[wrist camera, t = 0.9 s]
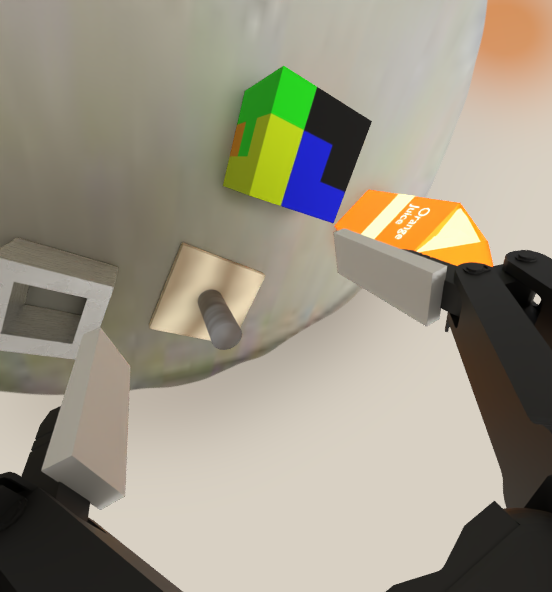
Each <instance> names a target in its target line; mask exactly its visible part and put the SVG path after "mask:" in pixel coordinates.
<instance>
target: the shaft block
mask: <svg viewBox="0 0 552 592" xmlns="http://www.w3.org/2000/svg"><path fill="white" fill-rule="evenodd" d="M264 278H265V275H264V274H263V273H262V272H259V271H256V270H254V269H251V268H249V267H246V266H243V265H241V264H238V263H235V262H233V261H230V260H228V259H225V258H222V257H220V256H217V255H215V254H212V253H209V252H207V251H204V250H202V249H199V248H196V247H194V246H191V245H188V244H186V243H183V242H182V244H181V246H180V249H179V251H178V254H177V256H176V259H175V261H174V264H173V266H172V269H171V271H170V274H169V276H168V279H167V281H166V283H165V286H164V288H163V291H162V293H161V296H160V298H159V301H158V303H157V306H156V308H155V311H154V313H153V316H152V318H151V321H150V323H149V329H154V330H160V331H165V332H170V333H175V334H180V335H185V336H190V337H195V338H201V339H206V340H211V341H212V344H213V345H214V346H215V347H216V348H218V349H221V350H226V349H230V348H232V347H234V346H235V345H237V344H238V343H239V341H240V340H241V337H242V331H241V329H240V326H241V324H242V322H243V320H244V318H245V316H246V314H247V312H248V310H249V308H250V306H251V304H252V302H253V300H254V298H255V296H256V294H257V292H258V290H259V288H260V286H261V284H262V282H263V280H264Z"/></svg>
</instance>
